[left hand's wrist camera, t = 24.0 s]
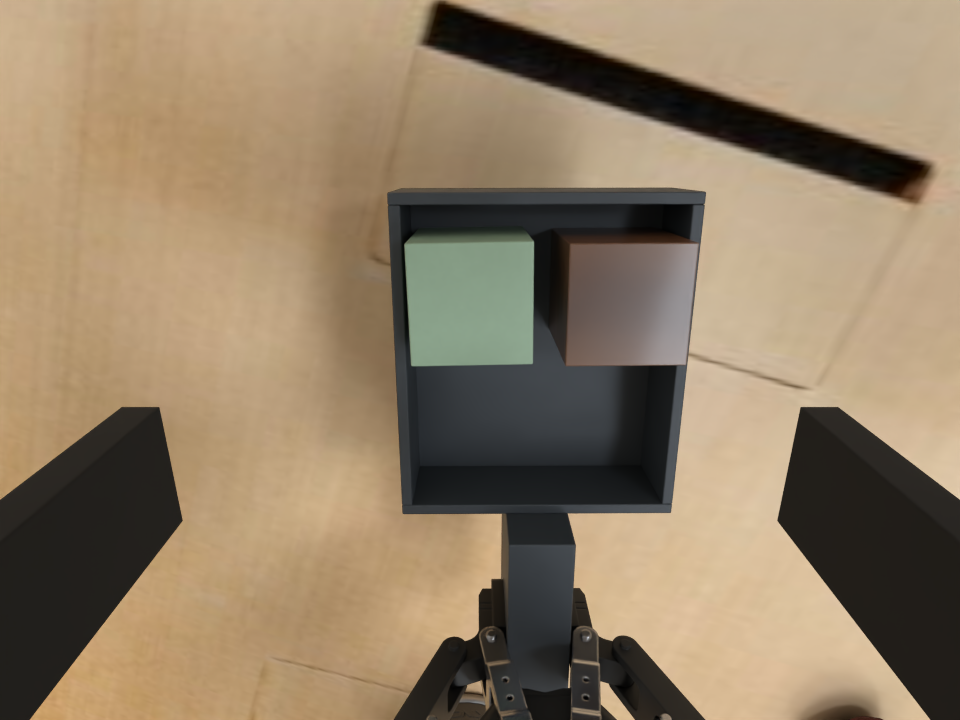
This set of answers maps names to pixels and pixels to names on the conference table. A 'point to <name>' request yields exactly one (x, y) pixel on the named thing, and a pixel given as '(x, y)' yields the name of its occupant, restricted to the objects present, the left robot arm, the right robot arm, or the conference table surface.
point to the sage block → (470, 296)
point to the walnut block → (621, 296)
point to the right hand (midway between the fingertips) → (530, 592)
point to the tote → (536, 413)
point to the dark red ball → (865, 718)
